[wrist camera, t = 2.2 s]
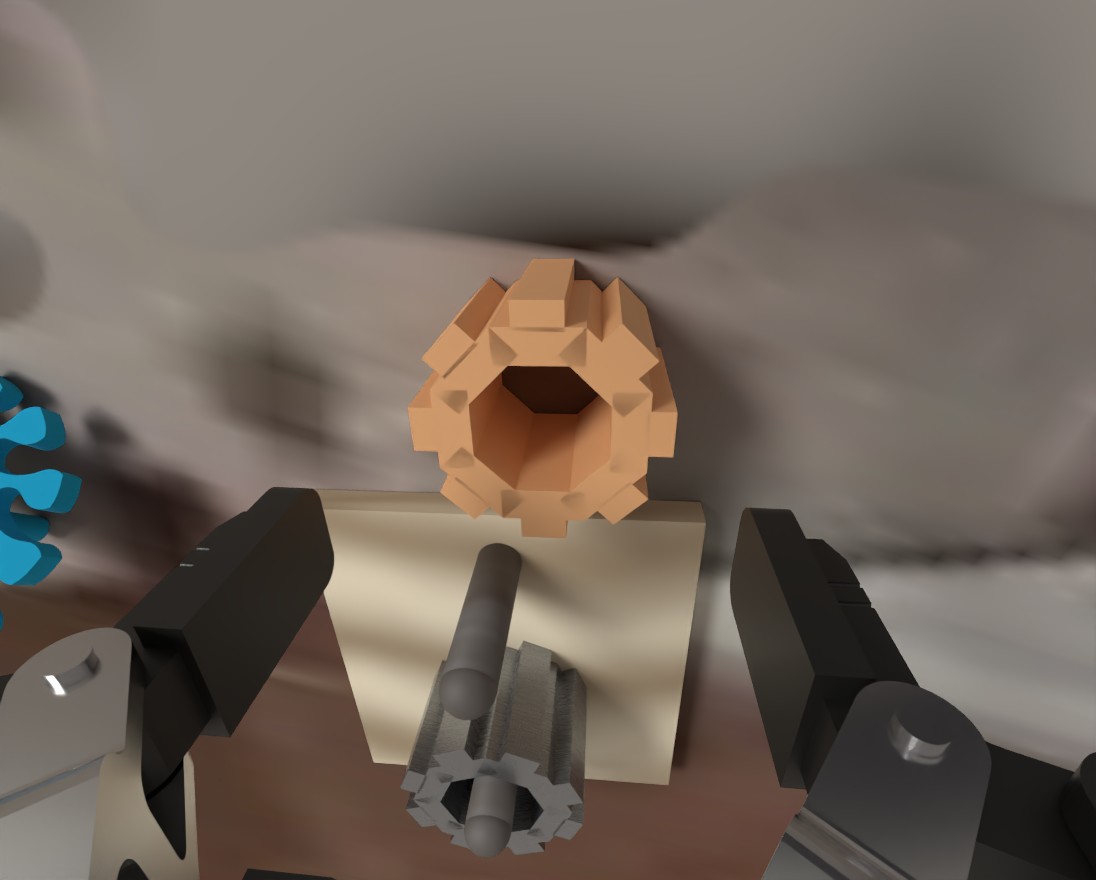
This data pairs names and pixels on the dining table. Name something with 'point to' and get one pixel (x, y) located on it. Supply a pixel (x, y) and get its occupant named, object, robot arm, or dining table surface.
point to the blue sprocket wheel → (30, 492)
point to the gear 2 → (507, 752)
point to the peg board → (513, 625)
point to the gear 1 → (536, 438)
